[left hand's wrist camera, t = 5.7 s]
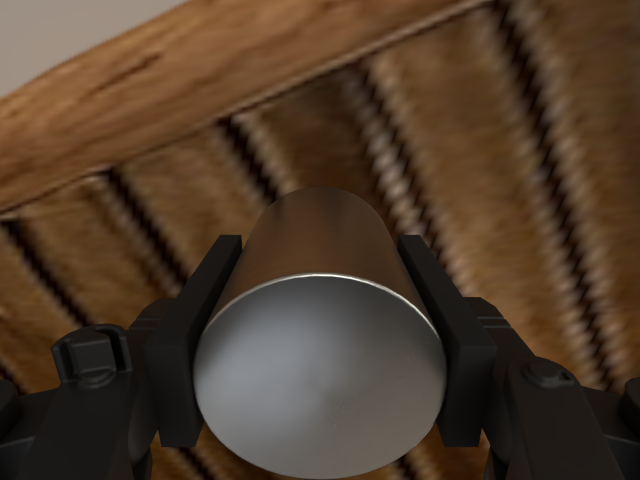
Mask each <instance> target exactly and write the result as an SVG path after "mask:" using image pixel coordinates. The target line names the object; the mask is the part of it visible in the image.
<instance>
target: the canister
mask: <svg viewBox="0 0 640 480" xmlns="http://www.w3.org/2000/svg"><path fill="white" fill-rule="evenodd" d="M191 379H192V387H193V394H194V398H195V401H196V405H197V407H198V409H199V412H200V414H201V416H202V418H203V420H204V421H205V423H206V424H207V426H208V428H209V429H210V430H211V432H212V433H213V434H214V435H215V436H216V437H217V439H218V440H219V441H220V442H221V443H223V444H224V445H225V446H226V447H227V448H228V449H229V450H231V451H232V452H233V453H235V454H236V455H238V456H239V457H240V458H242V459H244V460H246V461H248V462H249V463H251V464H253V465H255V466H258V467H260V468H262V469H265V470H267V471H270V472H274V473H277V474H280V475H284V476H289V477H294V478H302V479H318V480H326V479H339V478H345V477H351V476H356V475H360V474H363V473H367V472H370V471H373V470H375V469H378V468H381V467H383V466H385V465H387V464H389V463H391V462H393V461H395V460H396V459H398V458H399V457H401V456H402V455H404V454H406V453H407V452H408V451H409V450H411V449H412V448H413V447H414V446H416V445H417V444H418V443H419V442H420V441H421V440H422V439H423V438H424V436H425V435H426V434H427V433H428V432H429V430H430V429H431V428H432V426H433V425H434V423H435V422H436V420H437V418H438V416H439V414H440V412H441V411H442V408H443V405H444V402H445V399H446V395H447V389H448V379H449V368H448V361H447V355H446V352H445V349H444V346H443V343H442V340H441V338H440V336H439V334H438V332H437V330H436V328H435V326H434V324H433V322H432V320H431V318H430V316H429V314H428V312H427V310H426V308H425V306H424V304H423V302H422V300H421V298H420V296H419V294H418V291H417V289H416V287H415V285H414V283H413V281H412V279H411V277H410V275H409V273H408V271H407V269H406V267H405V265H404V263H403V261H402V259H401V257H400V255H399V253H398V251H397V249H396V247H395V245H394V243H393V241H392V239H391V237H390V234H389V232H388V230H387V228H386V226H385V224H384V223H383V221H382V219H381V218H380V216H379V215H378V213H377V212H376V211H375V210H374V209H373V208H372V207H371V206H370V205H369V204H368V203H366V202H365V201H364V200H362V199H361V198H359V197H357V196H356V195H354V194H352V193H349V192H347V191H344V190H340V189H337V188H331V187H309V188H304V189H300V190H296V191H293V192H291V193H288V194H286V195H285V196H283V197H281V198H279V199H278V200H276V201H275V202H274V203H272V204H271V205H270V206H269V207H268V208H267V209H266V210H265V211H264V212H263V214H262V215H261V216H260V218H259V219H258V221H257V223H256V224H255V226H254V228H253V230H252V232H251V235H250V237H249V239H248V241H247V243H246V245H245V247H244V249H243V251H242V253H241V255H240V257H239V259H238V261H237V263H236V265H235V267H234V269H233V271H232V273H231V275H230V277H229V279H228V281H227V283H226V285H225V287H224V290H223V292H222V294H221V296H220V298H219V300H218V302H217V304H216V306H215V308H214V310H213V312H212V314H211V316H210V318H209V320H208V322H207V324H206V326H205V328H204V330H203V332H202V334H201V336H200V339H199V341H198V344H197V346H196V349H195V352H194V357H193V362H192V375H191Z"/></svg>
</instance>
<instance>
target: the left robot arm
mask: <svg viewBox="0 0 640 480" xmlns="http://www.w3.org/2000/svg"><path fill="white" fill-rule="evenodd" d="M397 251H398V253H399V255H400V257H401V259H402V261H403V263H404V265H405V267H406V269H407V271H408V273H409V275H410V277H411V279H412V281H413V283H414V285H415V287H416V289H417V291H418V294H419V296H420V298H421V300H422V302H423V304H424V306H425V308H426V310H427V312H428V314H429V316H430V318H431V320H432V322H433V324H434V326H435V328H436V330H437V332H438V334H439V336H440V338H441V340H442V343H443V346H444V349H445V352H446V355H447V361H448V368H449V379H448V389H447V395H446V399H445V402H444V405H443V408H442V411H441V412H440V414H439V416H438V418H437V420H436V424H437V426H438V429H439V432H440V435H441V438H442V441H443V443H444V446H445V447H478V445H479V440H480V435H481V429H482V428H483V430H484V432H485V434H486V437H487V439H488V441H489V443H490V449H489V454H488V458H487V463H486V468H485V472H484V477H483V480H489V479H490V480H640V378H632V379H630V380H629V381H628V382H627V383H626V384H625V387H624V389H623V392H622V395H620V394H615V393H610V392H606V391H601V390H596V389H591V388H587V387H583V386H581V385H580V383H579V382H578V380H577V379H576V378H575V376H574V375H573V374H572V373H571V372H570V371H568V370H567V369H566V368H564V367H563V366H561V365H559V364H557V363H555V362H553V361H551V360H548V359H545V358H541V357H537V356H535V355H534V354H533V352H532V351H531V350H530V349H529V348H528V346H527V345H526V344H525V343H524V341H523V340H522V339H521V338H520V337H519V335H518V334H517V333H516V332H515V330H514V329H513V328H511V326H510V324H509V323H508V322H507V321H506V319H504V317H503V316H502V315H501V313H500V312H499V311H498V310H497V308H496V307H495V306H493V305H492V304H490V303H489V302H487V301H485V300H484V299H482V298H481V297H463V296H462V295H461V294H460V292H459V291H458V289H457V288H456V286H455V285H454V284H453V282H452V281H451V279H450V278H449V276H448V275H447V274H446V272H445V271H444V269H443V268H442V266H441V265H440V264H439V262H438V261H437V259H436V258H435V256H434V255H433V254H432V252H431V251H430V249H429V248H428V246H427V245H426V244H425V242H424V241H423V239H422V238H421V236H420V235H398V248H397ZM241 253H242V239H241V235H220V236H219V237H218V239H217V240H216V242H215V243H214V245H213V246H212V247H211V249H210V250H209V252H208V253H207V255H206V256H205V257H204V259H203V260H202V262H201V263H200V265H199V266H198V267H197V269H196V270H195V272H194V273H193V275H192V276H191V277H190V279H189V280H188V282H187V283H186V285H185V286H184V287H183V289H182V290H181V292H180V293H179V295H178V296H177V297H176V298H160V299H158V300H156V301H155V302H153V303H152V304H150V305H149V306H147V307H145V308H144V310H143V311H142V312H141V313H140V315H139V316H138V317H137V318H136V321H134V322H133V323H132V324H131V326H130V327H129V330H127V331H125V330H124V329H123V328H122V327H121V326H119V325H114V324H96V325H92V326H87V327H83V328H80V329H78V330H76V331H73V332H71V333H69V334H67V335H65V336H64V337H62V338H61V339H59V340H58V341H57V342H56V343H55V344H54V345H53V346H52V347H51V351H52V355H53V358H54V361H55V365H56V368H57V371H58V375H59V378H60V381H61V384H60V386H59V388H56V389H52V390H47V391H43V392H38V393H33V394H29V395H24V396H18V393H17V390H16V388H15V385H14V384H13V383H11V382H10V381H9V380H2V379H0V480H151V472H152V464H153V461H152V454H151V449H150V444H151V442H152V440H153V438H154V436H155V434H156V432H157V430H158V431H159V436H160V441H161V446H162V447H195V446H196V443H197V440H198V437H199V434H200V431H201V429H202V426H203V423H204V420H203V418H202V416H201V414H200V412H199V409H198V407H197V405H196V401H195V398H194V394H193V387H192V379H191V375H192V362H193V357H194V352H195V349H196V346H197V344H198V341H199V339H200V336H201V334H202V332H203V330H204V328H205V326H206V324H207V322H208V320H209V318H210V316H211V314H212V312H213V310H214V308H215V306H216V304H217V302H218V300H219V298H220V296H221V294H222V292H223V290H224V287H225V285H226V283H227V281H228V279H229V277H230V275H231V273H232V271H233V269H234V267H235V265H236V263H237V261H238V259H239V257H240V255H241Z"/></svg>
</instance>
